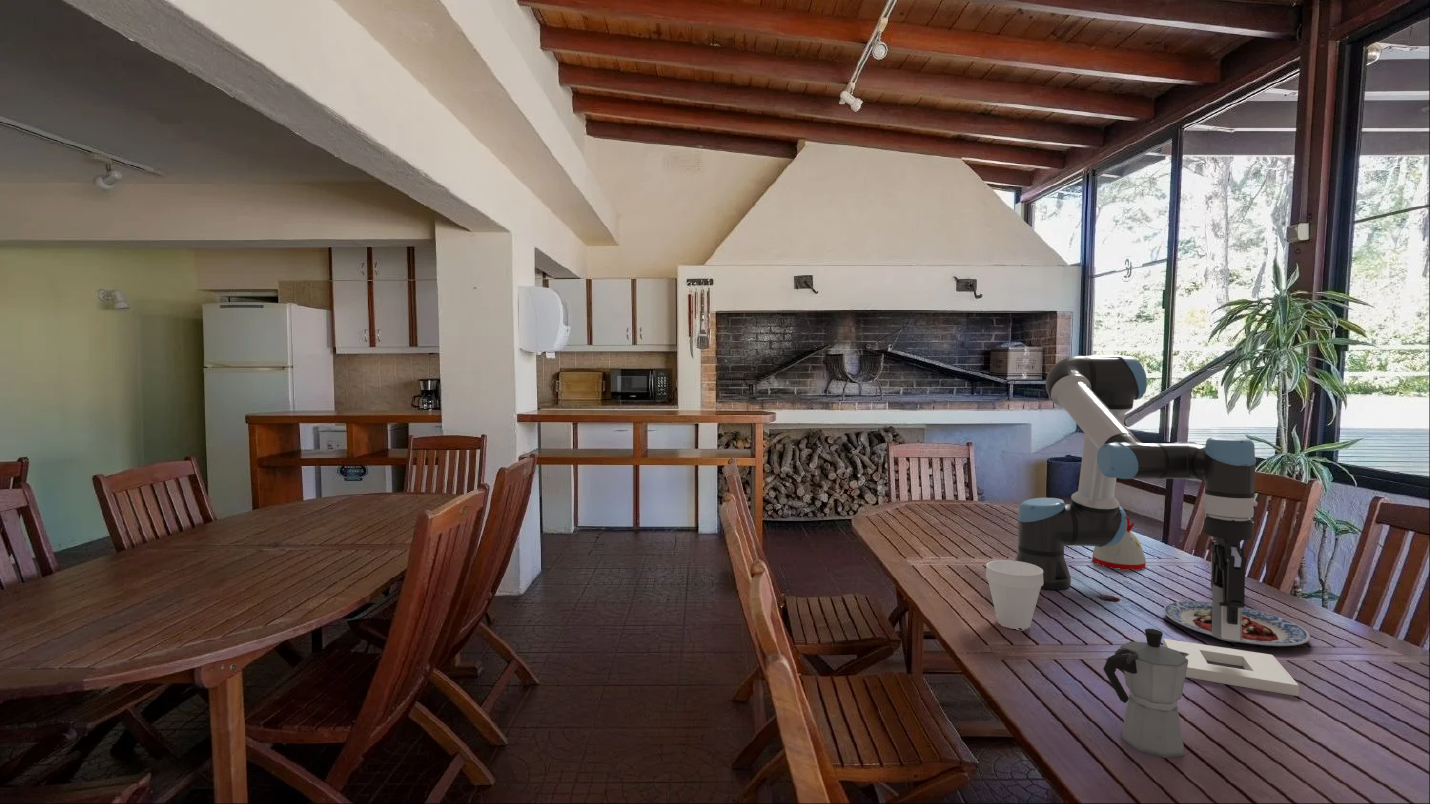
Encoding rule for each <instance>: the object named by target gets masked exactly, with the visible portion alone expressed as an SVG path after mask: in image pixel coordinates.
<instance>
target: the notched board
mask: <svg viewBox="0 0 1430 804" xmlns="http://www.w3.org/2000/svg"><path fill="white" fill-rule="evenodd" d="M1162 640H1163V645H1162V646H1164V647H1167V648H1170V649H1173V650H1177V651H1179V652H1184V653H1188V654H1189V655H1188V656H1186V657H1185V658H1186V659H1188V666H1187V671H1186V676H1185V678H1188V679H1190V678H1191V679H1195V680H1199V681H1200V680H1201V681H1207V682H1213V683H1219V684H1225V685H1230V686H1235V687H1241V688H1247V689H1254V690H1260V691H1265V692H1271V693H1275V694H1277V693H1278V694H1284V695H1288V696H1294V697H1299V696H1300V695H1299V694H1300V685H1299V684H1298V682H1296V680H1295V679H1294V677H1292V676H1291V675H1290V673H1289V672H1288V671H1287V670H1286V668H1284V666H1283V665H1282V664H1281V663H1280V662H1279V661H1278V660H1277V659H1276V657H1275V656H1274V655H1273V654H1270V653H1269V654H1268V653H1263V652H1258V651H1257V652H1255V651H1249V650H1242V649H1235V648H1229V647H1223V646H1216V645H1210V644H1209V645H1208V644H1202V643H1195V642H1189V641H1181V640H1174V639H1168V638H1163V639H1162ZM1208 662H1212V663H1213V662H1214V663H1220V664H1226V665H1232V666H1237V667H1243V668H1237V667H1229V666H1225V665H1218V664H1211V663H1208Z"/></svg>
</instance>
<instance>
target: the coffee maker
mask: <svg viewBox="0 0 1430 804" xmlns="http://www.w3.org/2000/svg"><path fill="white" fill-rule="evenodd" d="M1144 632H1145V633H1144V634H1145V638H1146V642H1142V641H1129V642H1127V643H1124V644H1122V645H1120V648H1118V649H1117V650H1115V652H1114V654H1113V655H1111V656H1109V657H1108V658H1107V659H1106V661H1105V665H1104V666H1103V668H1102V670H1103V671H1104V673H1105V675H1106V677H1107V679H1108V681H1109V682H1110V685H1111V686H1112V688H1113V689H1114V691H1115V693H1116V695H1117V697H1118V698H1119V700H1120V702H1122V703H1124V704H1126V703H1127V705H1126V711H1125V714H1124V720H1123V724H1122V725H1123V726H1122V729H1121V738H1120V739H1121V740H1123V741H1124V742H1125V743H1127V744H1128V745H1130V746H1131V747H1132V748H1134V749H1135V750H1137V751H1138V752H1142V753H1145V754H1148V755H1153V756H1156V757H1159V758H1163V759H1169V758H1170V759H1171V758H1180V757H1184V756H1185V749H1184V748H1185V747H1184V740H1183V732H1182V728H1181V727H1182V726H1181V720H1180V714H1179V707H1178V701H1180V700H1181V699H1182V697H1183V691H1184V685H1185V680H1186V677H1185V676H1186V671H1187V666H1188V659H1186V658H1185V657H1186V656H1188V655H1189V654H1188V653H1184V652H1179V651H1177V650H1173V649H1170V648H1167V647H1164V646H1163V645H1161V642H1162V640H1163V639H1162V638H1163V635H1164V634H1163V632H1162V631H1161V630H1159V629H1156V628H1155V629H1154V628H1146V629H1144ZM1117 669H1118V670H1120V671H1124V672H1123V673H1124V679H1125V680H1124V681H1125V686H1126V687H1127V688H1128V689H1129V694H1128V693H1127V692H1126V690H1125V689H1124V687H1123V686H1122V683H1121V682H1120V680H1119V679H1118V676H1117V674H1116V671H1117Z"/></svg>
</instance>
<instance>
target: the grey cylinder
mask: <svg viewBox="0 0 1430 804" xmlns="http://www.w3.org/2000/svg"><path fill="white" fill-rule="evenodd" d="M1211 598H1212V599H1211V600H1212V601H1211V602H1212V635H1213V636H1214V638H1216V639H1219V640H1222V641H1224V642H1225V641H1227V642H1232V643H1239V641H1236V640H1229V639H1222V638H1221V609H1222V606H1220V605H1219V602H1222V603H1223V602H1224V599H1223V582H1215V583H1213V589H1212V597H1211ZM1213 636H1212V637H1213ZM1241 637H1242V608H1240V641H1241Z"/></svg>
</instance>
